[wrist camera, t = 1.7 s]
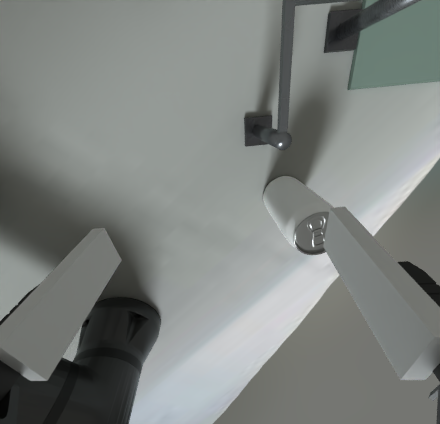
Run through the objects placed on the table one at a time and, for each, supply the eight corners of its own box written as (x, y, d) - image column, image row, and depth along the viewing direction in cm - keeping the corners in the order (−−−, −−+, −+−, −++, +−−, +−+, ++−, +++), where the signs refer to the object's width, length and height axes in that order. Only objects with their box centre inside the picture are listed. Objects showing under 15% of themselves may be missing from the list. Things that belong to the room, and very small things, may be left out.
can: (298, 169, 31) (346, 199, 20) (304, 204, 34) (350, 248, 23) (257, 183, 32) (284, 220, 21) (267, 217, 35) (295, 265, 24)
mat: (450, 80, 27) (455, 79, 27) (347, 89, 27) (350, 89, 26) (508, -82, 21) (516, -87, 20) (375, -72, 20) (379, -77, 20)
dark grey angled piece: (338, 136, 29) (399, 148, 20) (245, 145, 29) (264, 162, 20) (359, 11, 23) (462, -55, 14) (241, 21, 23) (266, -40, 14)
